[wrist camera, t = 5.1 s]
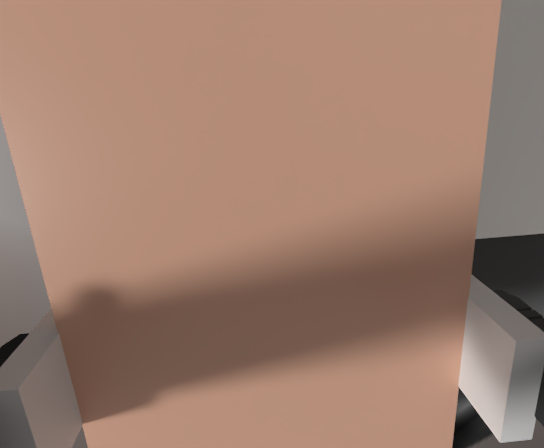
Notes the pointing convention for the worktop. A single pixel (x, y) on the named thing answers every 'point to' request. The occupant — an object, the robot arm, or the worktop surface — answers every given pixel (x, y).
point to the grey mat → (515, 127)
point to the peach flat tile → (254, 211)
